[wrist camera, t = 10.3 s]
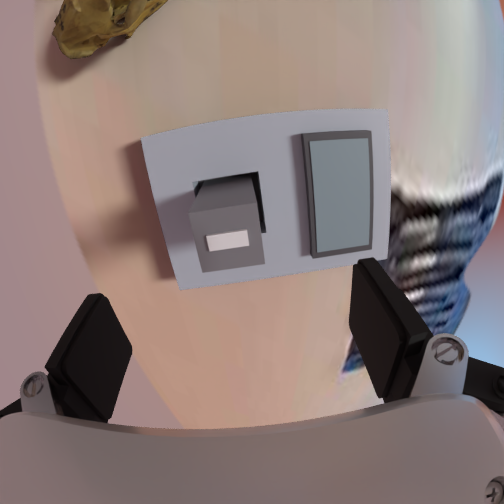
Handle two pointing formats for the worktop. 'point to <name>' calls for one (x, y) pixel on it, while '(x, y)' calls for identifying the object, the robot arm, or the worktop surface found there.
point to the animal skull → (98, 23)
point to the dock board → (280, 188)
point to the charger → (227, 224)
